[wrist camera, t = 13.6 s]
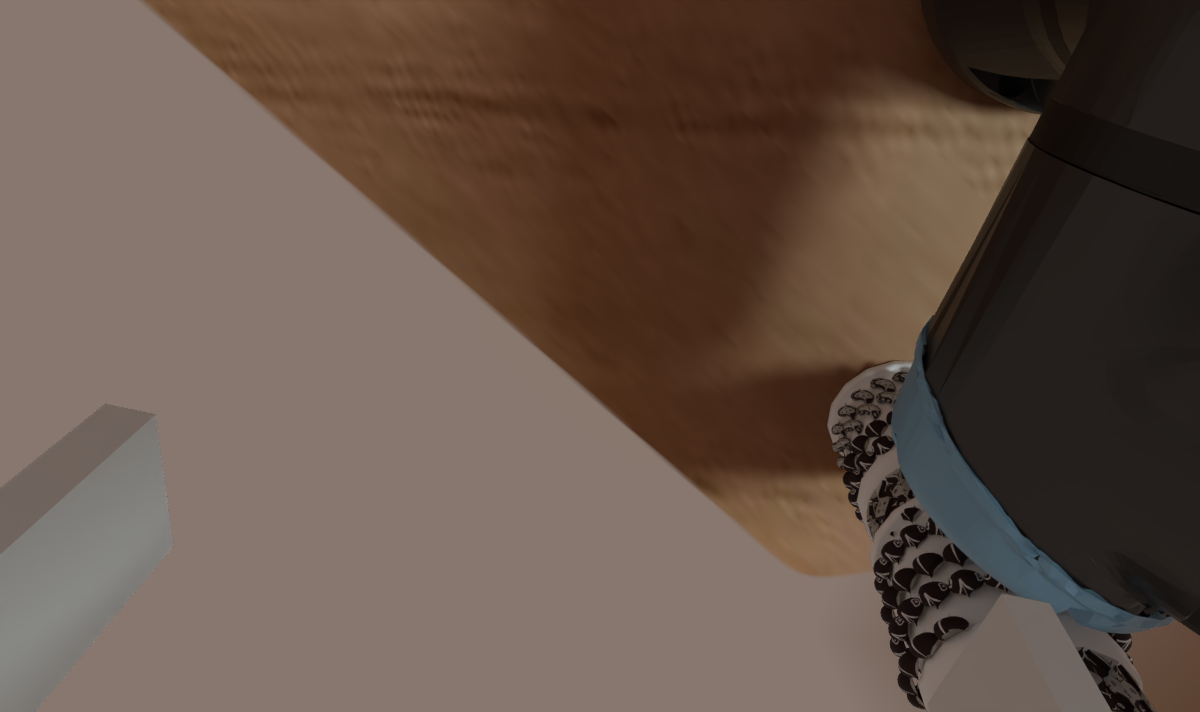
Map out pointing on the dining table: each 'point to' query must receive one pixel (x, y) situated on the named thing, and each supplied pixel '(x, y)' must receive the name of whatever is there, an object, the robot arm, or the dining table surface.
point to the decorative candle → (936, 558)
